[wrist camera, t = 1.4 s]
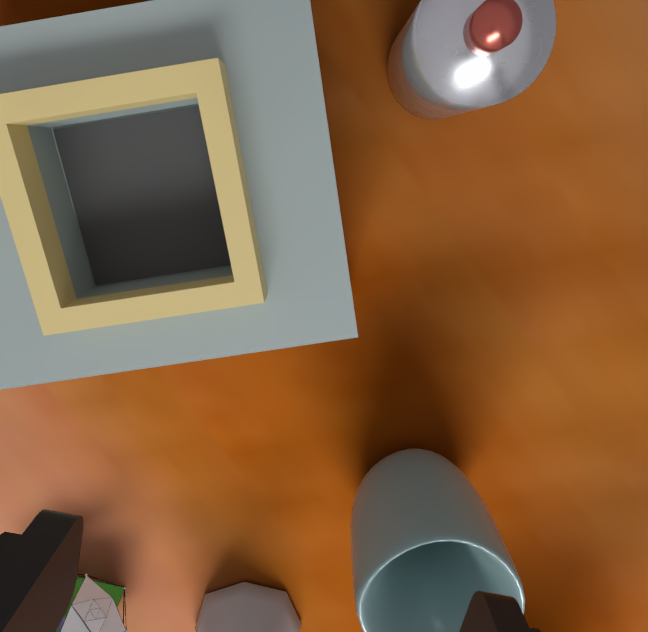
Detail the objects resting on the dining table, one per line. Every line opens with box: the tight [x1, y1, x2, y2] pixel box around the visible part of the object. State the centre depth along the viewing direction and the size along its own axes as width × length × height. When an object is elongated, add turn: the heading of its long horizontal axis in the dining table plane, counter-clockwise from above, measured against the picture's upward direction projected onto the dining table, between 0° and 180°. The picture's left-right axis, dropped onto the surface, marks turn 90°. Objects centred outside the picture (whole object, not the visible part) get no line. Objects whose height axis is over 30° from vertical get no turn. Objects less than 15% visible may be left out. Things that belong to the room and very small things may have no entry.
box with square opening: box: [0, 0, 358, 390], centre depth 26 cm, size 16×14×10 cm
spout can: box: [387, 0, 556, 120], centre depth 24 cm, size 5×5×10 cm
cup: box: [350, 448, 525, 632], centre depth 31 cm, size 8×8×10 cm
